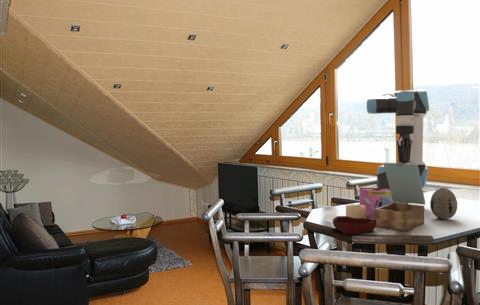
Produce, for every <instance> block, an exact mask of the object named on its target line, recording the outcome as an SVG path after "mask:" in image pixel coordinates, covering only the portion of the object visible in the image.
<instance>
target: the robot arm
mask: <svg viewBox="0 0 480 305" xmlns="http://www.w3.org/2000/svg"><path fill="white" fill-rule="evenodd" d="M429 102H430V101H429V97H428V92H427V91H426V90H425V89H411V90H410V89H409V90H395V91H391V92H388V93H384V94H382V95H381V96H380V97H371V98H368V99H367V100H366V112H367V114H374V115H377V114H396V115H395V125H396V126H395V134H397V135H399V136H398V140H396V145H397V153H398V154H397V155H398V162H402V163H406V164H417V165H418V170H419V174H420V179H421V184H422V189H424V188H425V187H426V184H427V179H428V175H429V174H428V173H429V167H427V166H426V162H424V160H423V158H424V157H423V156H424V154H423V153H424V152H423V151H424V149H423V147H424V146H423V145H424V144H423V143H424V142H423V141H424V117H425V116H426V115H427V112H429V111H430V104H429ZM376 188H390V187H389V183H388V179H387V175H386V171H385V167H384V164H382V165H379V166H377V170H376Z"/></svg>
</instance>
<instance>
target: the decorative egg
mask: <svg viewBox="0 0 480 305" xmlns="http://www.w3.org/2000/svg"><path fill="white" fill-rule="evenodd" d="M429 202H430V204H429V206H430V211H431V213H432V214H433V215H434V216H435V217H436V218H438V219H441V220H448V219H450V218H453V217H454V216H455V214H457V211H458V201H457V197H456V196H455V193H454V192H453V191H452V190H451V189H449V188H446V187H441V188H438V189H436V190H435V191H434V192H433V193H432V196H431V198H430V200H429Z"/></svg>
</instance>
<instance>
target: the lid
mask: <svg viewBox="0 0 480 305" xmlns="http://www.w3.org/2000/svg"><path fill="white" fill-rule="evenodd" d="M383 165H384V167H385V171H386V175H387V179H388V183H389V187H390V191H391V196H392V200H393V201H395V202H404V203H408V204H413V205H422V206H425V205H426V200H425V196H424V195H425V194H424V190H423V189H424V188H422V184H421V179H420V174H419V170H418V165H417V164H406V163H402V162H399V161H396V162H384V163H383Z"/></svg>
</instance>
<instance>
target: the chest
mask: <svg viewBox="0 0 480 305" xmlns="http://www.w3.org/2000/svg"><path fill="white" fill-rule="evenodd" d="M374 219H375V220H376V228H378V227H379V229H384V228H385V229H386V230H393V231H397V232H398V231H399V232H406V233H408V232H409V231H411V230H413V229H415V228H418V227H419V226H422V225H423V224H425V205H422V204H413V203H408V204H403V203H391V204H388V205H385V206H382V207H379V208H376V209H375V217H374Z"/></svg>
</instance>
